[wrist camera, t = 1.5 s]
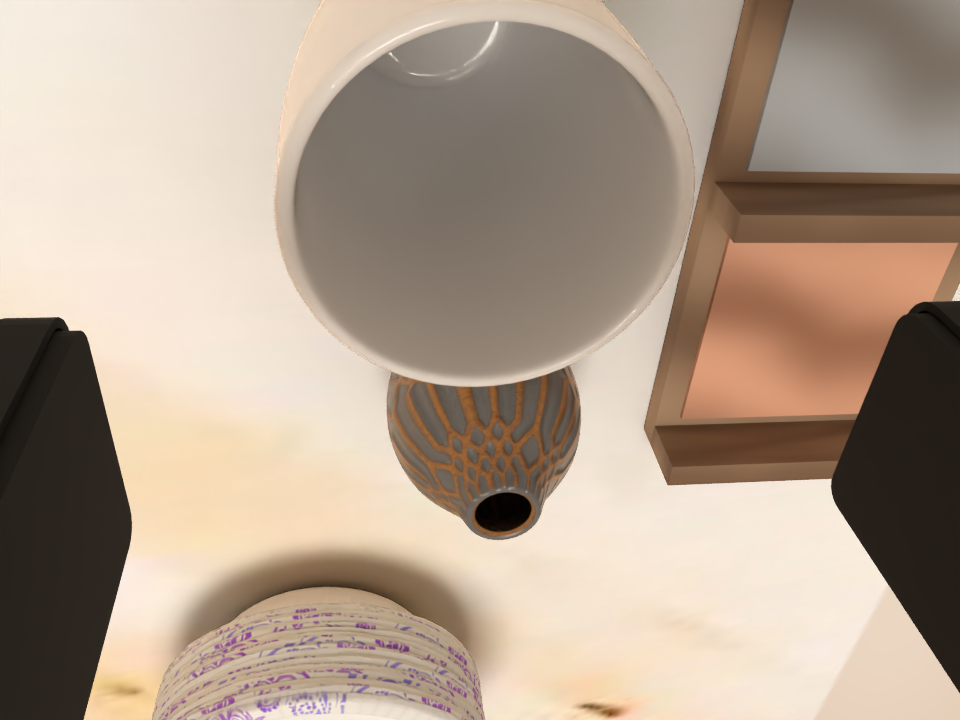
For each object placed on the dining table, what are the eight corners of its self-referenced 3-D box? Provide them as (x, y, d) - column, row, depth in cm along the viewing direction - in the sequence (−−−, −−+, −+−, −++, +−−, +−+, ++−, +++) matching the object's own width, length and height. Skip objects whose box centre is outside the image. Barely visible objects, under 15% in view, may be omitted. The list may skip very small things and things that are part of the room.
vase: (425, 439, 36) (443, 611, 29) (353, 315, 32) (354, 481, 25) (579, 382, 35) (636, 545, 28) (525, 248, 31) (577, 399, 24)
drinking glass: (315, -162, 22) (272, -44, 11) (559, -117, 24) (768, 32, 12) (303, 89, 26) (262, 383, 14) (513, 115, 28) (636, 405, 16)
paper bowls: (386, 746, 50) (391, 894, 43) (125, 692, 44) (86, 855, 37) (528, 592, 43) (559, 742, 36) (242, 503, 37) (218, 664, 30)
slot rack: (793, -205, 23) (853, -197, 20) (1146, -179, 25) (1247, -168, 22) (643, 428, 37) (667, 485, 34) (877, 421, 38) (918, 474, 35)
